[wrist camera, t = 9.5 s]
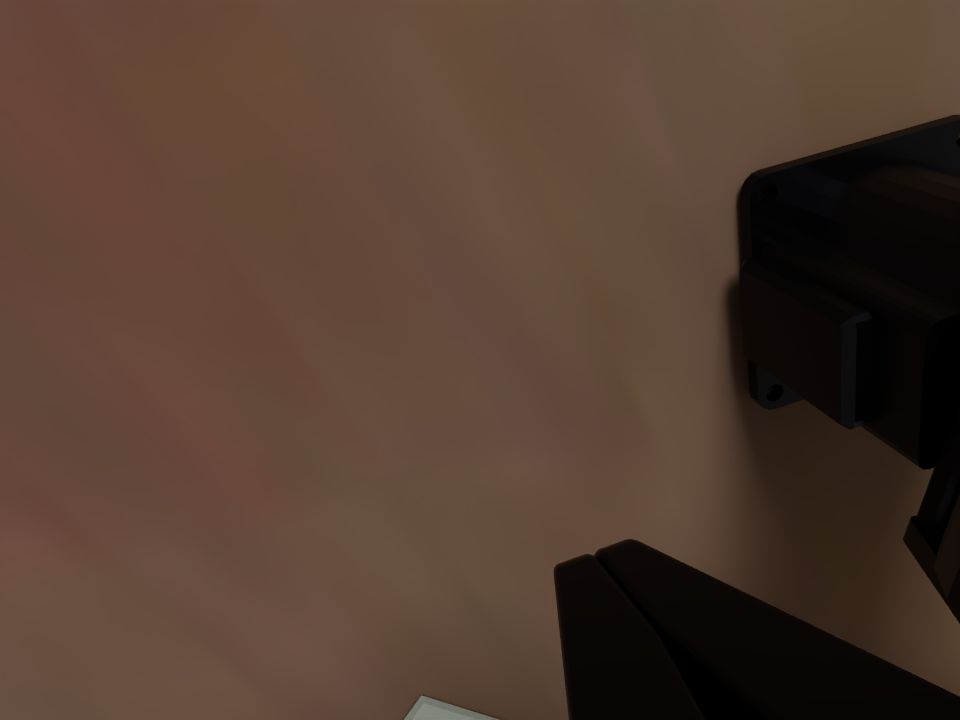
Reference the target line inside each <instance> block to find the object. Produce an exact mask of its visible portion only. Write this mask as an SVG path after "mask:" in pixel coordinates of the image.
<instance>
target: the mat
mask: <svg viewBox="0 0 960 720" xmlns="http://www.w3.org/2000/svg"><path fill="white" fill-rule="evenodd" d="M404 720H499V719H496V718H492V717H489V716H486V715H483V714H480V713H476V712H473V711H470V710H467V709H464V708H460V707H457V706H454V705H451V704H448V703H444V702H441V701H438V700H435V699H432V698H428V697H425V696H422V695H421V697H420V698H419V699H418V701H417V702H416V704H415V705H414V706H413V708H412V709H411V710H410V712H409V713H408V715H407V716H406V717H405V719H404Z"/></svg>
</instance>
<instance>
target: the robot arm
mask: <svg viewBox="0 0 960 720" xmlns="http://www.w3.org/2000/svg"><path fill="white" fill-rule="evenodd" d="M959 132H960V115H952V116H949V117H945V118H942V119H938V120H935V121H931V122H927V123H924V124H920V125H917V126H913V127H910V128H906V129H903V130H899V131H896V132H892V133H888V134H885V135H881V136H878V137H874V138H871V139H867V140H864V141H860V142H856V143H853V144H849V145H846V146H842V147H839V148H835V149H832V150H828V151H825V152H821V153H817V154H814V155H810V156H807V157H803V158H800V159H796V160H793V161H789V162H786V163H782V164H778V165H775V166H771V167H768V168H764V169H761V170H758V171H756V172H754V173H752V174H751V175H750V176H749V177H748V178H747V179H746V180H745V182H744V184H743V186H742V189H741V215H742V236H743V258H744V262H743V264H742V266H741V269H740V286H741V307H742V327H743V347H744V355H745V356H746V357H747V358H748V365H749V386H750V395H751V398H752V399H753V400H754V401H755V402H756V403H758V404H759V405H760V406H761V407H763V408H765V409H768V410H770V409H776V408H779V407H782V406H785V405H788V404H791V403H794V402H797V401H800V400H803V399H805V400H807V401H808V402H810V403H811V404H812V405H814V406H815V407H816V408H818V409H819V410H821V411H822V412H823V413H825V414H826V415H828V416H829V417H830V418H832V419H833V420H835V421H836V422H837V423H839V424H840V425H842V426H844V427H845V428H848V429H853V428H856V427H859V426H862V427H863V428H865V429H866V430H867V431H869V432H870V433H872V434H873V435H875V436H876V437H877V438H879V439H880V440H882V441H883V442H885V443H886V444H887V445H889V446H890V447H892V448H893V449H895V450H896V451H897V452H899V453H900V454H902V455H903V456H905V457H906V458H907V459H909V460H910V461H912V462H913V463H915V464H916V465H917V466H919V467H920V468H922V469H924V470H925V469H931V468H934V467H935V468H934V470H933V473H932V476H931V479H930V481H929V484H928V487H927V489H926V492H925V495H924V497H923V500H922V503H921V506H920V508H919V511H918V514H917V516H912V517H911V518H910V521H909V524H908V527H907V529H906V532H905V535H904V537H903V541H904V543H905V544H906V545H907V547H908V548H909V550H910V551H911V553H912V554H913V556H914V557H915V559H916V560H917V562H918V563H919V565H920V566H921V568H922V569H923V570H924V572H925V573H926V575H927V576H928V578H929V579H930V581H931V582H932V584H933V585H934V587H935V588H936V590H937V591H938V592H939V594H940V595H941V597H942V598H943V600H944V601H945V603H946V604H947V606H948V607H949V609H950V610H951V612H952V613H953V614H954V616H955V617H956V619H957V620H958V622H959V623H960V138H959V140H958V141H957V142H956V138H957V135H958V133H959ZM767 184H768V187H769V188H768V193H767V195H766V196H765V197H764V198H763V199H761V200H760V199H759V194H760V191H761V189H762V188H763V186H765V185H767ZM774 384H775V385H774ZM773 385H774V388H773V390H772V391H771V392H770V393H768V394H767V391H768V389H769V388H770V387H771V386H773ZM766 394H767V395H766ZM554 582H555V591H556V601H557V610H558V620H559V630H560V639H561V649H562V658H563V668H564V677H565V687H566V696H567V706H568V716H569V720H960V697H959V696H957V695H955V694H953V693H951V692H949V691H947V690H945V689H943V688H941V687H939V686H936V685H934V684H932V683H930V682H928V681H926V680H924V679H922V678H920V677H918V676H916V675H914V674H912V673H910V672H908V671H906V670H903V669H901V668H899V667H897V666H895V665H893V664H891V663H889V662H887V661H885V660H883V659H881V658H879V657H877V656H875V655H873V654H870V653H868V652H866V651H864V650H862V649H860V648H858V647H856V646H854V645H852V644H850V643H848V642H846V641H844V640H842V639H839V638H837V637H835V636H833V635H831V634H829V633H827V632H825V631H823V630H821V629H819V628H817V627H815V626H813V625H811V624H809V623H806V622H804V621H802V620H800V619H798V618H796V617H794V616H792V615H790V614H788V613H786V612H784V611H782V610H780V609H778V608H776V607H773V606H771V605H769V604H767V603H765V602H763V601H761V600H759V599H757V598H755V597H753V596H751V595H749V594H747V593H745V592H742V591H740V590H738V589H736V588H734V587H732V586H730V585H728V584H726V583H724V582H722V581H720V580H718V579H716V578H714V577H712V576H709V575H707V574H705V573H703V572H701V571H699V570H697V569H695V568H693V567H691V566H689V565H687V564H685V563H683V562H681V561H679V560H676V559H674V558H672V557H670V556H668V555H666V554H664V553H662V552H660V551H658V550H656V549H654V548H652V547H650V546H648V545H646V544H643V543H641V542H639V541H637V540H633V539H627V540H624V541H621V542H618V543H615V544H612V545H610V546H607V547H604V548H601V549H599V550H597V552H596V553H595V554H594V556H593V555H590V554H585V555H582V556H579V557H576V558H573V559H571V560H568V561H565V562H562V563H559V564H557V565H556V566H555V568H554Z"/></svg>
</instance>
